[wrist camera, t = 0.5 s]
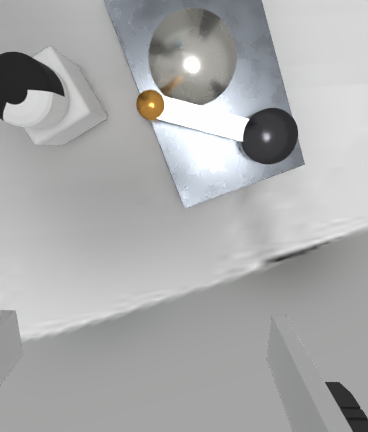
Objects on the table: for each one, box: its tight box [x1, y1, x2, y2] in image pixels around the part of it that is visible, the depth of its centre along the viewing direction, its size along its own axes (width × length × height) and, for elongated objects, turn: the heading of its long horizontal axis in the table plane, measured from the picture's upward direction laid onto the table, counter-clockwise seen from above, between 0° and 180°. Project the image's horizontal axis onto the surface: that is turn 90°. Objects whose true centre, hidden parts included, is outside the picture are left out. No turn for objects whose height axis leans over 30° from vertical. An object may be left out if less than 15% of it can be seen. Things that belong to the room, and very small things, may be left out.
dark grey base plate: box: [104, 0, 305, 208], centre depth 33 cm, size 26×16×2 cm, turn 21°
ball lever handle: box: [137, 89, 298, 165], centre depth 32 cm, size 18×6×3 cm, turn 76°
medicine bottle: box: [0, 46, 107, 146], centre depth 29 cm, size 7×7×12 cm
